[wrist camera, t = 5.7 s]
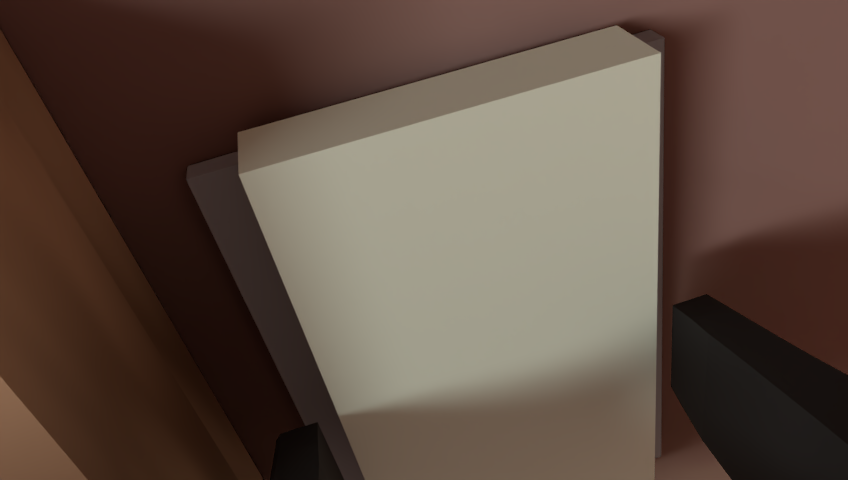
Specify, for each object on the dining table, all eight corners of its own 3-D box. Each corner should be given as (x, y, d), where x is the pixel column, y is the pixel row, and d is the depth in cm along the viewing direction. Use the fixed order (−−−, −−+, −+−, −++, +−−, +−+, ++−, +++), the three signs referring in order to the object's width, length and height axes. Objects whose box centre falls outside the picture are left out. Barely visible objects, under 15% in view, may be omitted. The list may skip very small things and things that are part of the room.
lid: (627, 472, 16) (653, 518, 15) (403, 549, 15) (415, 601, 14) (616, 24, 9) (661, 53, 8) (237, 133, 9) (238, 174, 8)
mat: (652, 442, 16) (661, 456, 16) (365, 540, 15) (368, 557, 15) (650, 29, 10) (664, 38, 10) (187, 165, 10) (185, 179, 9)
